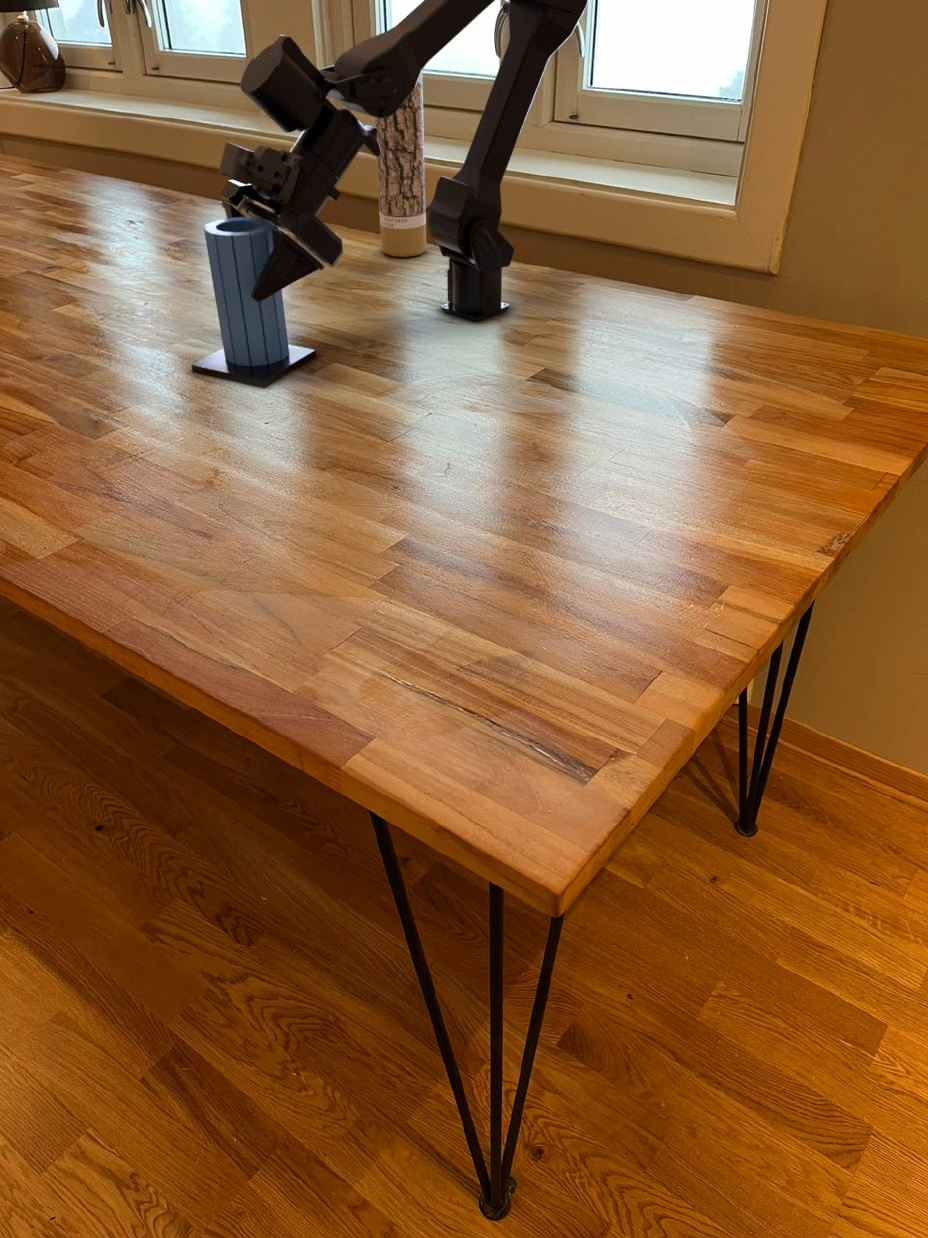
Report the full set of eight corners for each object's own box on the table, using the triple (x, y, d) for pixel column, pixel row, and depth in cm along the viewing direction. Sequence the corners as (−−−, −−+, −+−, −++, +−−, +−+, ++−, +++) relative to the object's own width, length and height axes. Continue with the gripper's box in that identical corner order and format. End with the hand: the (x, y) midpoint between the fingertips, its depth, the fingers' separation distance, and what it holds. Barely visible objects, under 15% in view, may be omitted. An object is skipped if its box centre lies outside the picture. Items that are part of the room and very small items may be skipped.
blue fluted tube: (285, 339, 110) (270, 214, 102) (291, 362, 105) (276, 232, 96) (223, 345, 109) (202, 219, 100) (226, 369, 103) (205, 237, 95)
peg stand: (316, 356, 108) (312, 313, 105) (264, 388, 101) (258, 343, 98) (247, 342, 112) (241, 300, 109) (192, 371, 105) (184, 327, 102)
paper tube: (420, 259, 137) (414, 64, 122) (376, 256, 139) (365, 62, 123) (431, 246, 143) (426, 57, 128) (388, 243, 144) (379, 56, 129)
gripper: (222, 96, 99) (144, 221, 101) (303, 122, 87) (211, 265, 89) (298, 166, 107) (224, 281, 109) (380, 199, 95) (296, 328, 97)
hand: (236, 287), depth 101 cm, fingers open, 9 cm apart
